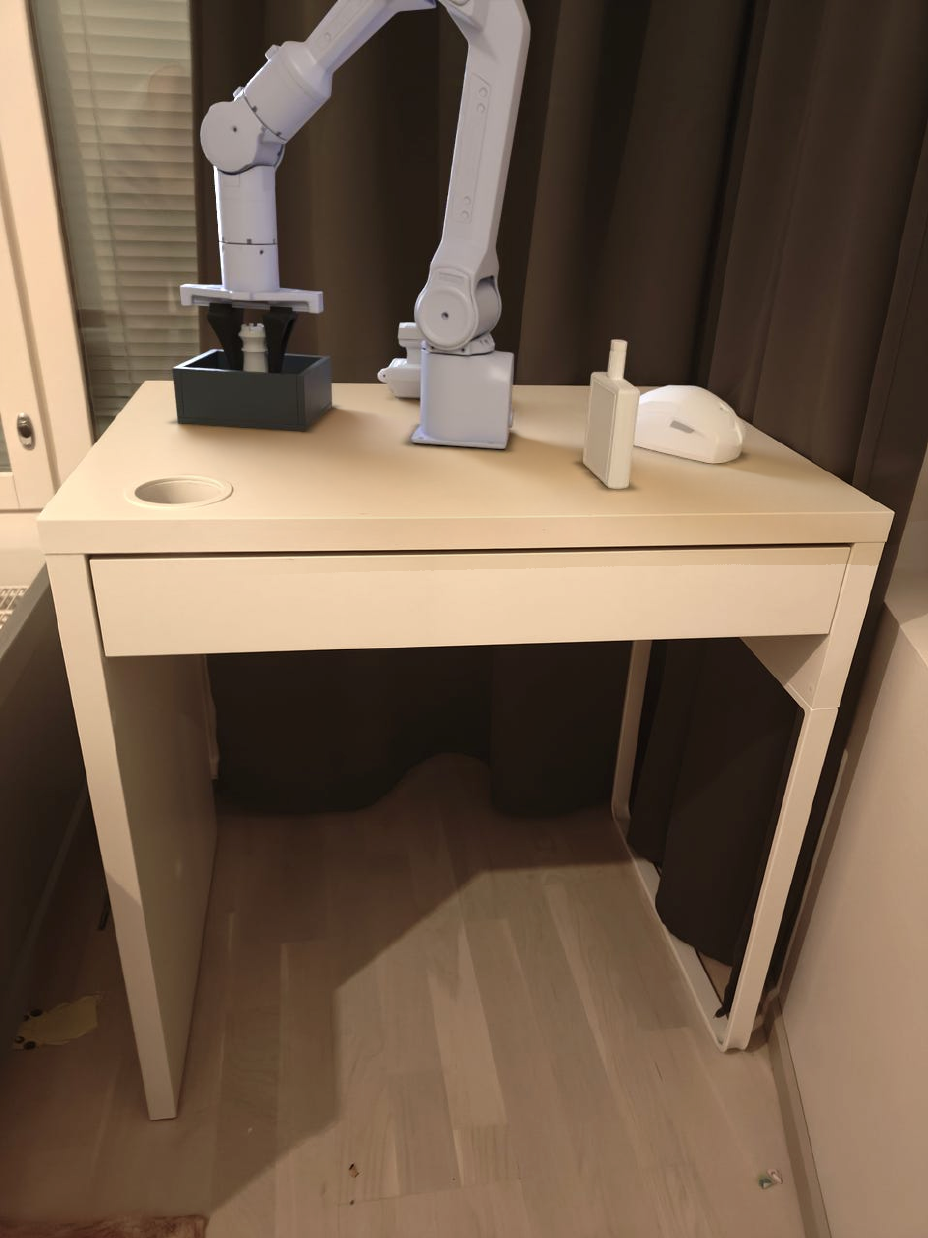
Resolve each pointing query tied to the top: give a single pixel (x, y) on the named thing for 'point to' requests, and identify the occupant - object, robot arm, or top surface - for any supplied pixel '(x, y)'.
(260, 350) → the rook chess piece
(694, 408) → the computer mouse
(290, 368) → the storage bin
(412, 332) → the white mechanical part
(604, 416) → the perfume bottle
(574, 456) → the top surface
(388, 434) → the top surface
